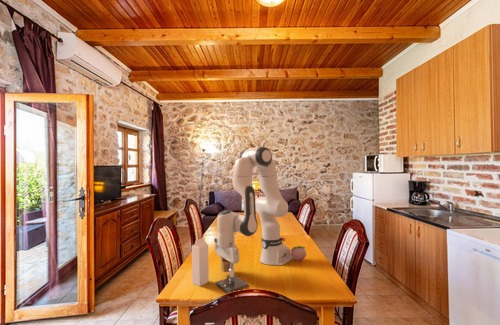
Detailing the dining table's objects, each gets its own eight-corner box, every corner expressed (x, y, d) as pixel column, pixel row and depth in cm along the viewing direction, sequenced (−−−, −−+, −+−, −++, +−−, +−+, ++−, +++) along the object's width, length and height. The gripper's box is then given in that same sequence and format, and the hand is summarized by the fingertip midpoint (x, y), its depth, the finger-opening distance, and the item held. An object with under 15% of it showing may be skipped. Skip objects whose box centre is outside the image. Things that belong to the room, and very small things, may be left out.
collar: (229, 266, 141) (229, 257, 141) (235, 269, 136) (235, 260, 136) (219, 269, 137) (219, 260, 137) (225, 273, 132) (225, 263, 132)
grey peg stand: (235, 277, 134) (235, 262, 134) (248, 286, 124) (248, 269, 124) (215, 283, 127) (215, 267, 127) (227, 293, 117) (227, 276, 117)
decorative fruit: (301, 258, 159) (300, 242, 160) (308, 262, 152) (308, 246, 152) (288, 260, 156) (287, 244, 156) (295, 265, 148) (294, 248, 149)
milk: (208, 282, 129) (208, 238, 129) (199, 286, 124) (199, 241, 124) (201, 278, 133) (200, 236, 133) (191, 283, 128) (191, 239, 128)
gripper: (241, 244, 130) (243, 271, 130) (222, 235, 146) (223, 259, 147) (231, 247, 126) (232, 274, 126) (212, 237, 143) (213, 262, 143)
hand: (227, 266), depth 137 cm, fingers closed on collar, 6 cm apart
